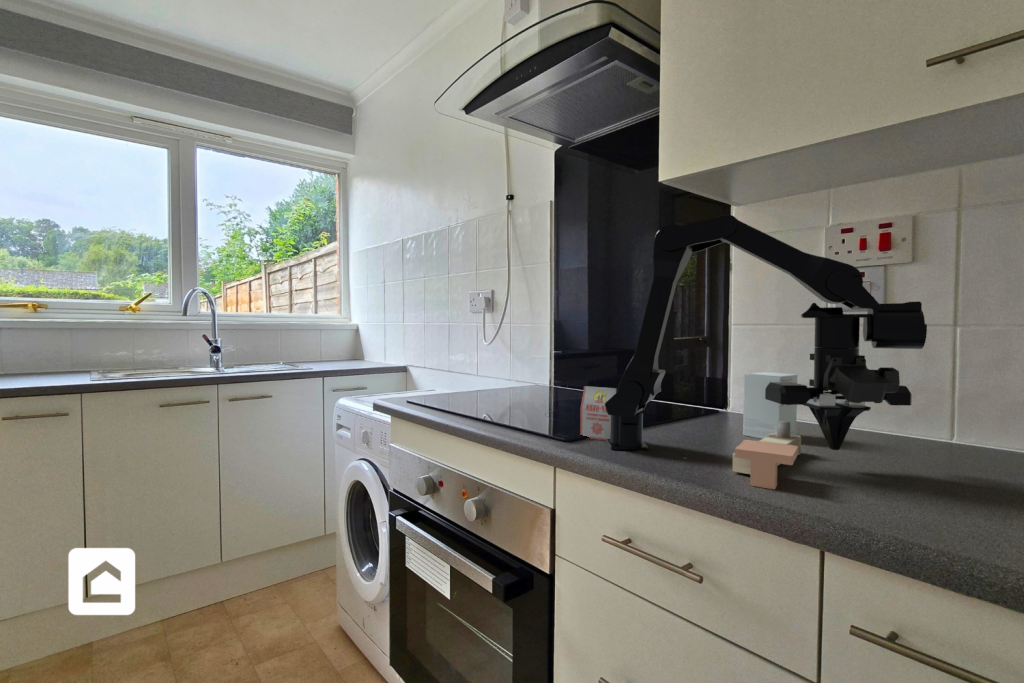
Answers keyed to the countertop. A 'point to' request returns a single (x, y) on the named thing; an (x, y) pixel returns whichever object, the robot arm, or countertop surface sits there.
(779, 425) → the link
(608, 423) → the white printed box
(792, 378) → the supplement box
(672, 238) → the robot arm
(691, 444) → the countertop surface
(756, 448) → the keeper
